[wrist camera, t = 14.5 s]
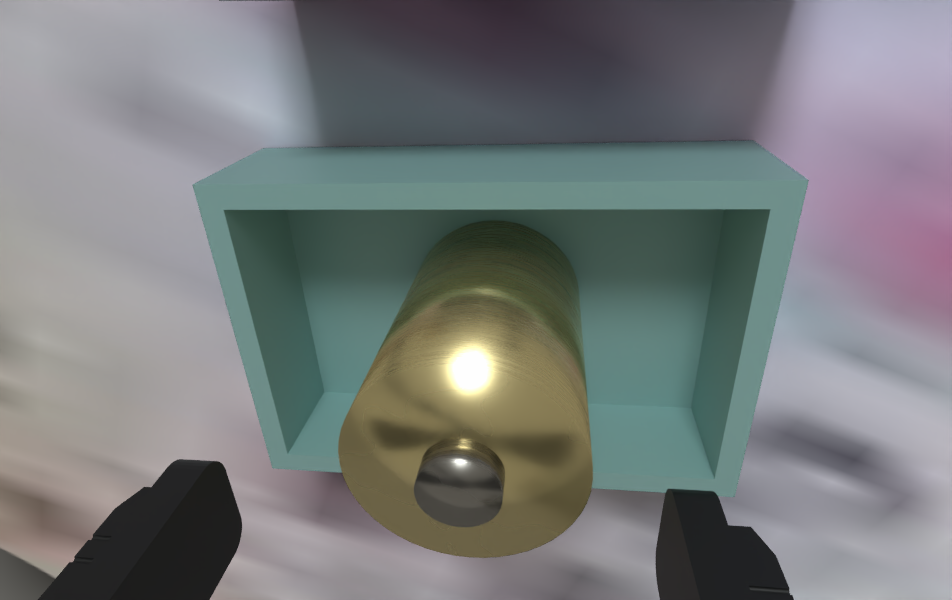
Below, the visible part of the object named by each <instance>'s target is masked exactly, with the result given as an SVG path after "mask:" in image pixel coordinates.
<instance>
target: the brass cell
mask: <svg viewBox="0 0 952 600" xmlns="http://www.w3.org/2000/svg"><path fill="white" fill-rule="evenodd" d="M338 455H339V463H340V467H341V470H342V474H343V477H344V479H345V481H346V483H347V486H348V488H349V489H350V491H351V492H352V494H353V496H354V497H355V499H356V500H357V501H358V502H359V504H360V505H361V506H362V507H363V508H364V510H365V511H366V512H367V513H369V514H370V515H371V516H372V517H373V518H374V519H375V520H376V521H377V522H379V523H380V524H381V525H383V526H384V527H385V528H387V529H388V530H390V531H391V532H393V533H395V534H396V535H398V536H400V537H402V538H404V539H406V540H407V541H409V542H412V543H414V544H417V545H419V546H422V547H424V548H427V549H430V550H434V551H437V552H441V553H445V554H450V555H455V556H464V557H479V558H487V557H501V556H508V555H514V554H518V553H522V552H526V551H529V550H531V549H534V548H537V547H539V546H542V545H544V544H545V543H547V542H549V541H551V540H553V539H554V538H556V537H557V536H559V535H560V534H562V533H563V532H564V531H565V530H567V529H568V528H569V527H570V526H571V525H572V524H573V523H574V522H575V520H576V519H577V518H578V517H579V515H580V514H581V513H582V511H583V509H584V507H585V505H586V504H587V501H588V498H589V496H590V493H591V488H592V482H593V463H592V450H591V437H590V424H589V412H588V399H587V386H586V374H585V361H584V348H583V336H582V323H581V310H580V297H579V287H578V282H577V278H576V275H575V272H574V269H573V267H572V265H571V263H570V261H569V260H568V258H567V257H566V256H565V254H564V253H563V252H562V250H561V249H560V248H559V247H558V246H557V245H556V244H555V243H554V242H552V241H551V240H550V239H549V238H547V237H546V236H544V235H543V234H541V233H540V232H538V231H536V230H534V229H532V228H529V227H527V226H524V225H521V224H518V223H513V222H508V221H495V220H493V221H481V222H476V223H471V224H468V225H465V226H462V227H460V228H458V229H456V230H454V231H452V232H450V233H449V234H447V235H446V236H444V237H443V238H442V239H441V240H440V241H438V242H437V243H436V244H435V245H434V247H433V248H432V249H431V250H430V251H429V253H428V254H427V256H426V258H425V259H424V261H423V263H422V265H421V267H420V269H419V271H418V273H417V275H416V277H415V279H414V281H413V283H412V285H411V287H410V289H409V291H408V293H407V295H406V297H405V299H404V301H403V303H402V305H401V307H400V309H399V311H398V313H397V315H396V317H395V319H394V321H393V323H392V325H391V327H390V329H389V331H388V333H387V335H386V337H385V339H384V341H383V343H382V345H381V347H380V349H379V351H378V353H377V355H376V357H375V359H374V361H373V363H372V365H371V367H370V369H369V371H368V373H367V375H366V377H365V379H364V381H363V383H362V385H361V387H360V389H359V391H358V393H357V395H356V397H355V399H354V401H353V403H352V405H351V407H350V409H349V411H348V413H347V415H346V417H345V420H344V422H343V425H342V427H341V431H340V436H339V442H338Z"/></svg>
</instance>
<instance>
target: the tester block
mask: <svg viewBox="0 0 952 600" xmlns="http://www.w3.org/2000/svg"><path fill="white" fill-rule="evenodd" d="M219 1H284V0H219Z"/></svg>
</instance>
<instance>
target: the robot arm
mask: <svg viewBox="0 0 952 600" xmlns="http://www.w3.org/2000/svg"><path fill="white" fill-rule="evenodd" d="M241 532H242V520H241V516H240V513H239V510H238V507H237V503H236V500H235V497H234V494H233V491H232V488H231V485H230V482H229V479H228V476H227V473H226V470H225V467H224V466H223V464H222V463H220V462H218V461H200V460H183V459H179V460H176V461H174V462H173V463H171V464H170V465H169V466H168V468H167V469H166V470H165V471H164V472H163V474H162V475H161V476H160V477H159V479H158V480H157V481H156V482H155V484H154V485H153V486H152V487H144V488H142V489H141V490H140V491H138V492H137V493H136V494H134V495H133V496H131V497H130V498H129V499H127V500H126V501H125V502H123V503H122V504H121V505H119V506H118V507H117V508H115V509H114V510H113V512H112V513H111V514H110V515H109V516H108V518H107V519H106V520H105V521H104V522H103V523H102V525H101V526H100V527H99V528H98V529H97V530H96V532H95V533H94V534H93V538H92V540H88V541H87V542H86V543H85V545H84V546H83V547H82V548H81V549H80V551H79V552H78V553H77V554H76V555H75V556H74V557H75V559H74V561H73V562H69V564H68V565H67V566H66V567H65V568H64V569H63V571H62V572H61V573H60V574H59V575H58V577H57V578H56V579H55V580H54V582H52V584H51V585H50V586H49V587H48V588H47V590H46V591H45V592H44V593H43V594H42V595H41V597H40V598H39V599H38V600H209V599H210V597H211V596H212V594H213V592H214V590H215V589H216V587H217V585H218V583H219V581H220V580H221V578H222V576H223V574H224V573H225V571H226V569H227V567H228V565H229V564H230V562H231V560H232V558H233V557H234V555H235V553H236V551H237V548H238V545H239V542H240V538H241ZM656 577H657V585H658V591H659V596H660V600H794V599H793V596H792V595H790V593H789V587H788V584H787V582H786V579H785V577H784V574H783V572H782V570H781V567H780V565H779V562H778V560H777V557H776V555H775V554H774V553H773V552H772V551H771V550H770V548H769V547H768V546H767V545H766V544H765V543H764V541H763V540H762V539H761V538H760V537H759V536H758V535H757V533H756V532H755V531H754V530H753V529H752V528H751V527H744V526H728V524H727V521H726V518H725V515H724V512H723V509H722V506H721V503H720V501H719V498H718V496H717V494H716V493H715V492H714V491H703V490H686V489H667V491H666V494H665V499H664V505H663V511H662V517H661V523H660V529H659V535H658V541H657V547H656Z"/></svg>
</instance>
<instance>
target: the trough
mask: <svg viewBox="0 0 952 600" xmlns="http://www.w3.org/2000/svg"><path fill="white" fill-rule="evenodd" d="M808 181H809V180H808V179H806V178H805V177H803V176H802V175H801V174H799V173H798V172H797V171H795V170H794V169H792V168H791V167H790V166H788V165H787V164H785V163H784V162H783V161H781V160H780V159H778V158H777V157H776V156H774V155H773V154H772V153H770V152H769V151H767V150H766V149H765V148H763V147H762V146H760V145H759V144H758V143H756V142H755V141H754V140H745V141H683V142H621V143H558V144H496V145H434V146H371V147H309V148H263V149H261V150H259V151H257V152H255V153H253V154H252V155H250V156H248V157H246V158H244V159H242V160H240V161H238V162H236V163H234V164H232V165H230V166H228V167H226V168H224V169H222V170H220V171H218V172H216V173H214V174H212V175H210V176H208V177H207V178H205V179H203V180H201V181H199V182H197V183H195V184H193V188H194V192H195V195H196V199H197V202H198V206H199V210H200V213H201V217H202V220H203V224H204V227H205V231H206V234H207V238H208V241H209V245H210V248H211V252H212V256H213V259H214V263H215V266H216V270H217V273H218V277H219V280H220V284H221V287H222V291H223V295H224V298H225V302H226V305H227V309H228V312H229V316H230V319H231V323H232V326H233V330H234V333H235V337H236V341H237V344H238V348H239V351H240V355H241V358H242V362H243V365H244V369H245V372H246V376H247V379H248V383H249V387H250V390H251V394H252V397H253V401H254V404H255V408H256V411H257V415H258V418H259V422H260V426H261V429H262V433H263V436H264V440H265V443H266V447H267V450H268V454H269V457H270V461H271V464H272V468H276V469H292V470H308V471H324V472H340V473H342V470H341V467H340V463H339V455H338V442H339V436H340V431H341V427H342V425H343V422H344V420H345V417H346V415H347V413H348V411H349V409H350V407H351V405H352V403H353V401H354V399H355V397H356V395H357V393H358V391H359V389H360V387H361V385H362V383H363V381H364V379H365V377H366V375H367V373H368V371H369V369H370V367H371V365H372V363H373V361H374V359H375V357H376V355H377V353H378V351H379V349H380V347H381V345H382V343H383V341H384V339H385V337H386V335H387V333H388V331H389V329H390V327H391V325H392V323H393V321H394V319H395V317H396V315H397V313H398V311H399V309H400V307H401V305H402V303H403V301H404V299H405V297H406V295H407V293H408V291H409V289H410V287H411V285H412V283H413V281H414V279H415V277H416V275H417V273H418V271H419V269H420V267H421V265H422V263H423V261H424V259H425V258H426V256H427V254H428V253H429V251H430V250H431V249H432V248H433V247H434V245H435V244H436V243H437V242H438V241H440V240H441V239H442V238H443V237H444V236H446V235H447V234H449V233H450V232H452V231H454V230H456V229H458V228H460V227H462V226H465V225H468V224H471V223H476V222H481V221H493V220H495V221H508V222H513V223H518V224H521V225H524V226H527V227H529V228H532V229H534V230H536V231H538V232H540V233H541V234H543V235H544V236H546V237H547V238H549V239H550V240H551V241H552V242H554V243H555V244H556V245H557V246H558V247H559V248H560V249H561V250H562V252H563V253H564V254H565V256H566V257H567V258H568V260H569V261H570V263H571V265H572V267H573V269H574V272H575V275H576V278H577V282H578V287H579V297H580V310H581V323H582V336H583V348H584V361H585V374H586V386H587V399H588V412H589V424H590V437H591V450H592V463H593V482H592V488H597V489H613V490H629V491H645V492H661V493H666V491H667V489H686V490H703V491H714V492H715V493H716V494H717V496H726V497H735V493H736V489H737V484H738V480H739V476H740V471H741V467H742V463H743V459H744V454H745V450H746V446H747V442H748V437H749V433H750V429H751V424H752V420H753V416H754V412H755V407H756V403H757V399H758V395H759V390H760V386H761V382H762V377H763V373H764V369H765V365H766V360H767V356H768V352H769V347H770V343H771V339H772V335H773V330H774V326H775V322H776V318H777V313H778V309H779V305H780V300H781V296H782V292H783V288H784V283H785V279H786V275H787V271H788V266H789V262H790V258H791V253H792V249H793V245H794V241H795V236H796V232H797V228H798V224H799V219H800V215H801V211H802V206H803V202H804V198H805V194H806V189H807V185H808Z"/></svg>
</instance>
